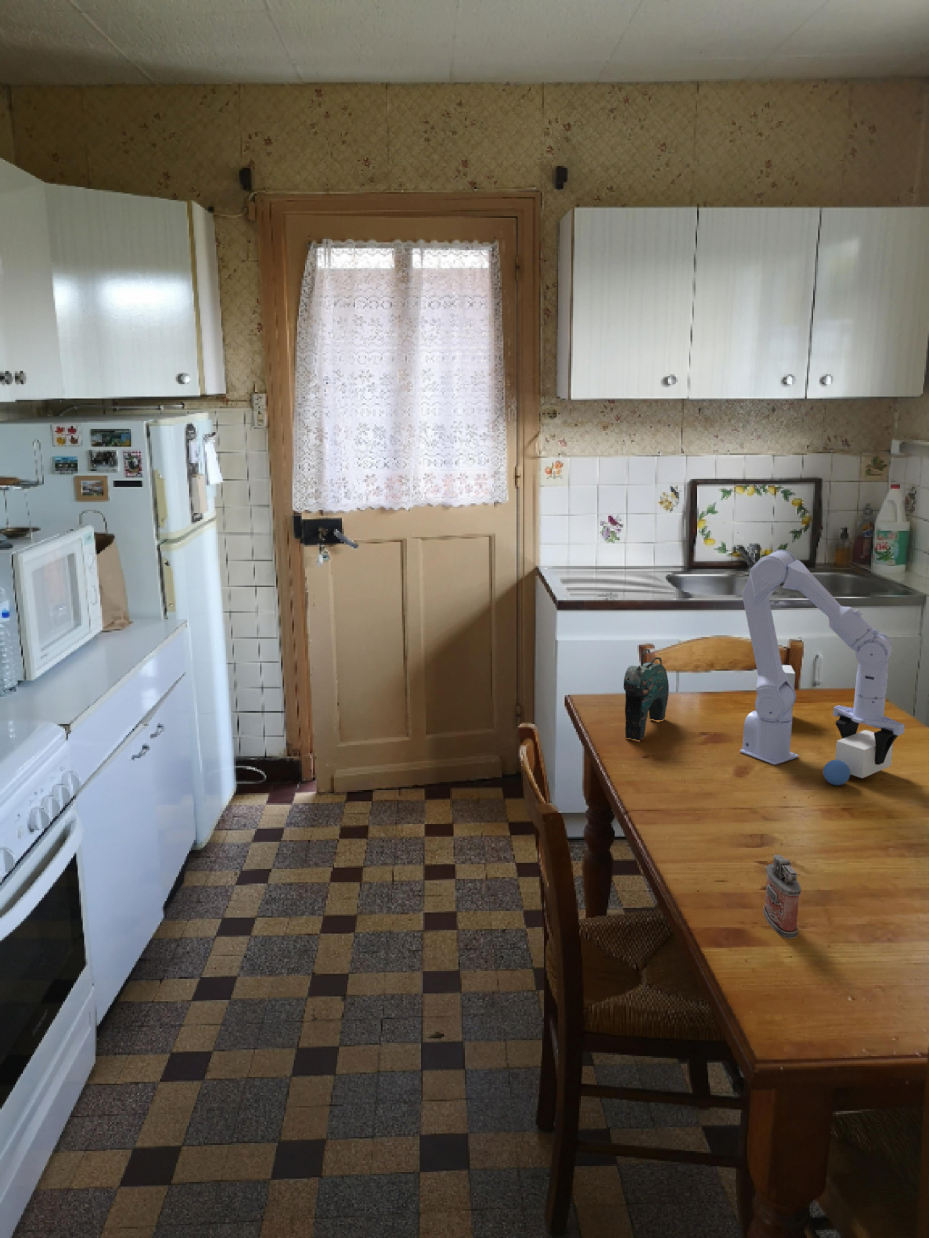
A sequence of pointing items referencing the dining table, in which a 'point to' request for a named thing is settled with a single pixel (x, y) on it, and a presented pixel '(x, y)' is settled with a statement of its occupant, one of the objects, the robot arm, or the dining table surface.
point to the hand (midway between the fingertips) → (864, 758)
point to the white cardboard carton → (861, 754)
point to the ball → (836, 772)
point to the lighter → (782, 897)
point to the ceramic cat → (644, 696)
